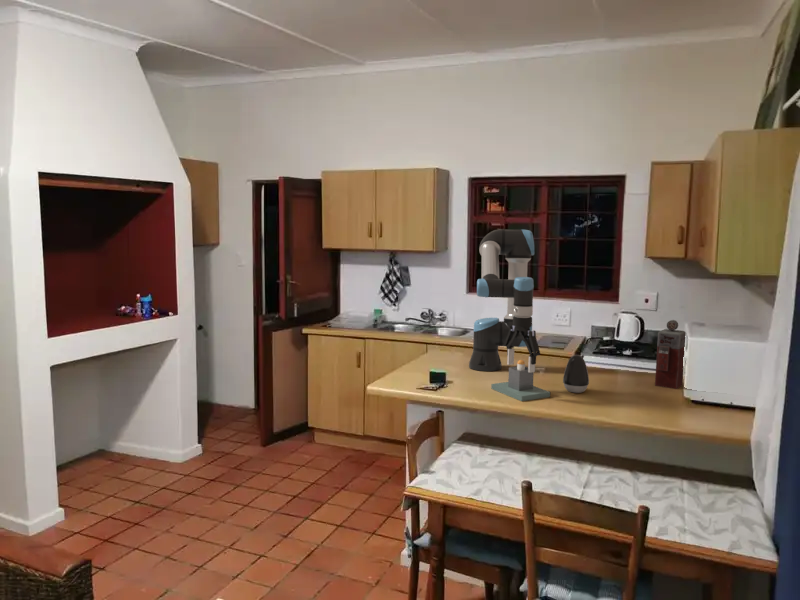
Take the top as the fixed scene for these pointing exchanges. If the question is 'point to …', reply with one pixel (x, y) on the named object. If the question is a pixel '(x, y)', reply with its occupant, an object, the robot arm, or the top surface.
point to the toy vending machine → (670, 356)
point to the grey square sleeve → (520, 379)
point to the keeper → (520, 395)
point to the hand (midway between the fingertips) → (520, 368)
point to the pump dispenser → (576, 375)
